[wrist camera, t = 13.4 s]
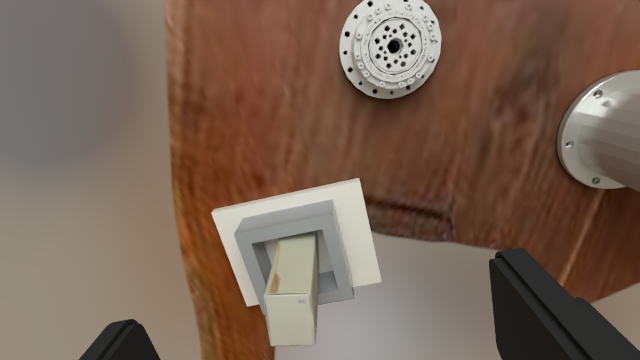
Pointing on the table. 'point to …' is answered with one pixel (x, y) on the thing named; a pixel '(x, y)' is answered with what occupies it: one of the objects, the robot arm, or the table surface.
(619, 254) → the table surface
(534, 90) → the table surface
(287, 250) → the skincare box
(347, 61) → the mechanical component
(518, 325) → the robot arm
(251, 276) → the square socket base
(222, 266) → the table surface
